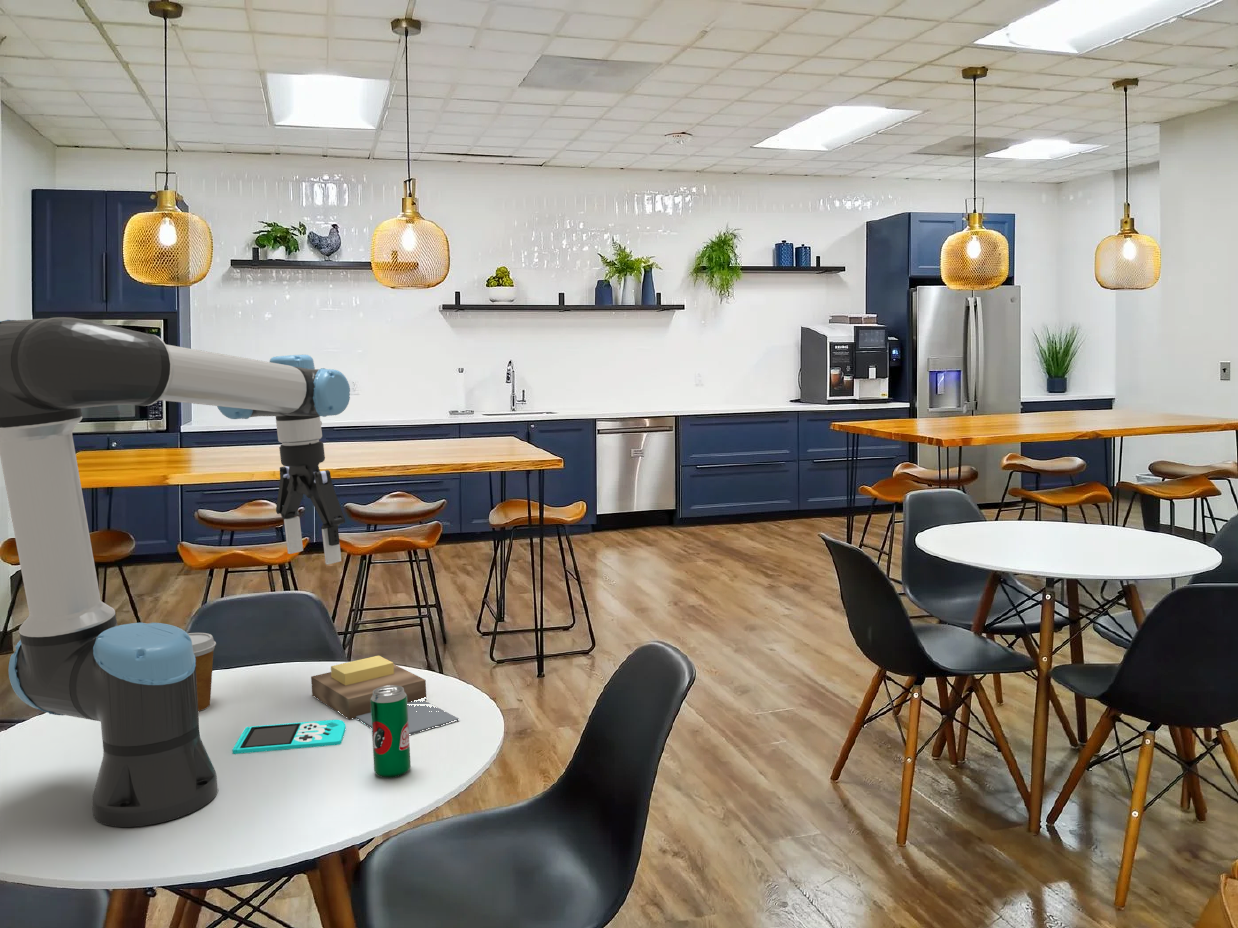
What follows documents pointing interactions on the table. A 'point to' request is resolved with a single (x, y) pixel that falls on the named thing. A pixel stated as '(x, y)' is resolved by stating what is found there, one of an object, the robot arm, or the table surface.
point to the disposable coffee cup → (203, 666)
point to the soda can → (390, 731)
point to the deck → (364, 691)
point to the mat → (419, 717)
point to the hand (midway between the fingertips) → (314, 557)
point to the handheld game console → (290, 736)
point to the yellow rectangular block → (362, 670)
